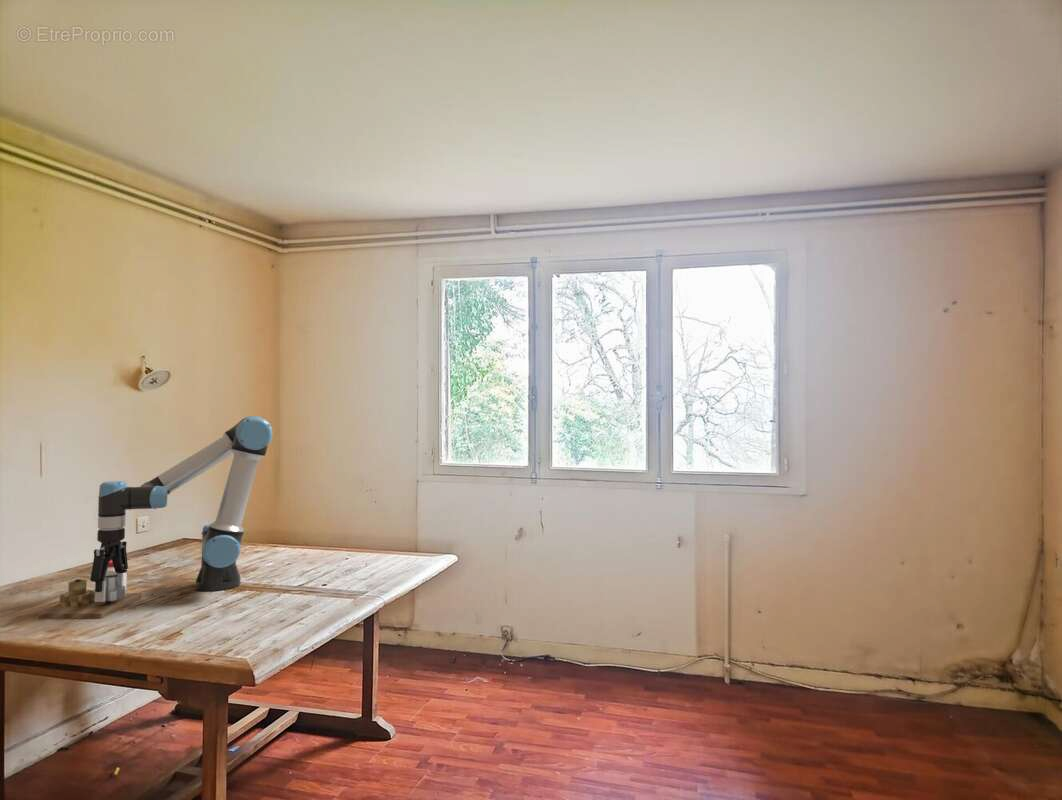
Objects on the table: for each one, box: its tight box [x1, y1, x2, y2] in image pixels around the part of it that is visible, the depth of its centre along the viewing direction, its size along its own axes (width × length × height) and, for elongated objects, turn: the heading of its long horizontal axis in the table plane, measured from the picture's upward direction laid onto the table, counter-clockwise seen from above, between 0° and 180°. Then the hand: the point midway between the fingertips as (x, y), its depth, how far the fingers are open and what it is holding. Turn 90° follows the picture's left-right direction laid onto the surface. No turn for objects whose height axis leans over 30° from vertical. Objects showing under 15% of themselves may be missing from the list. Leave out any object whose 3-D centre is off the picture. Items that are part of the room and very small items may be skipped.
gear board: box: [37, 578, 143, 619], centre depth 202 cm, size 19×22×9 cm
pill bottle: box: [105, 560, 128, 592], centre depth 220 cm, size 8×8×11 cm
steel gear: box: [92, 575, 127, 601], centre depth 203 cm, size 9×9×7 cm
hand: (109, 597), depth 202 cm, fingers closed on steel gear, 9 cm apart
